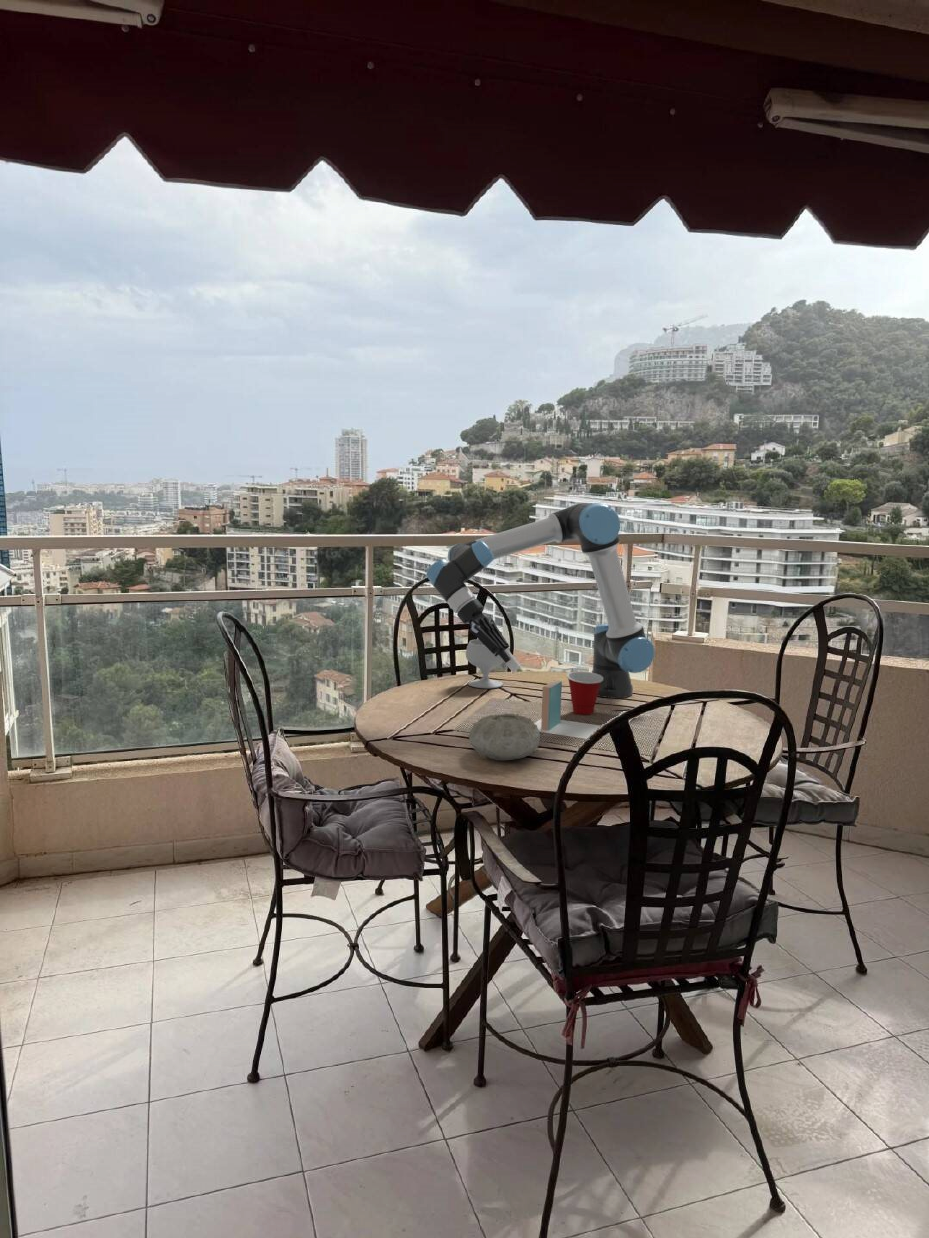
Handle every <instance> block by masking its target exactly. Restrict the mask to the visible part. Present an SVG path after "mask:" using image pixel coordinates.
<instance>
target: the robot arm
mask: <svg viewBox="0 0 929 1238" xmlns="http://www.w3.org/2000/svg"><path fill="white" fill-rule="evenodd" d="M620 531H621V520H620V517H619V515H618V513H617V512H616V510H615V509H614V508H612V507H610V506H608V505H607V504H604V503H598V502H594V503H590V502H589V503H587V502H581V503H577V504H574V505H571V506H568V507H565V508H563V509H560V510H558V511H554V512H552V513H550V514H549V515H548V517H547V518H543V519H540V520H537V521H533V522H531V523H526V524H524V525H520V526H517V527H512V528H511V529H507V530H504V531H500V532H497V533H494V534H491V535H487V536H485V537H481V538H478V539H477V538H476V539H474V540H472V541H467V542H464V543H456V544H454V545H452V546H451V547H450V548H449V550H448V553H447V560H446V559H445V558H440V559H439V560H437V561H434V563H433V564H431V565H430V566H429V567H428V569H427V571H426V577H427V579H428V580H429V582H430V583H431V584H432V586H433V588H434V589H436V591H437V592H438V593H439V594H440V596H441V597H442V599H443V600H444V601H445V602H446V603H447V604H448V606H449V609H451V610H452V611H453V612H454V613H456V614H457V617H458V619H460V621H461V622H462V623H463V624H464V625H467V624H469V626H470V627H471V628H470V629H469V632H470V633H471V634H473V635H474V636H475V637H476V638H477V639H479V640H480V641H481V642H482V643H483V644H484V645H485V646H486V647H487V648H488V649H489V650H490V651H491V652H492V653H493V654H495V653H496V654H495V656H496V657H497V656H498V655H499V656H500V657H501V658H502V660H503V661H504V662H503V663H505V665H506V666H507V667H508V668H509V670H510V671H511V672H512V674H513V673H516V672H517V671H518V670H519V669H520V668H522V665H521V664H520V662H519V661H518V660H517V658H516V657H515V656H514V655H513V654H512V652H511V651H510V650H509V648H510V644H509V643H508V641H507V640H506V638H505V637H504V635H503V634H502V632H501V631H500V630H499V628H498V627H497V624H496V622H495V620H494V619H490V620H489V618H488V617H487V616H486V615H484V613H483V612H484V610H485V607H484V605H482V603H481V601H479V599H477V598H476V596H475V594H474V593H473V591H471V589H470V588H469V587H468V585H466V582H467V581H469V580H470V579H471V578H473V577H474V576H476V574H479V572H481V571H482V570H483V569H485V568H487V567H488V566H489V565H490V564H491V563H492V562H493V561H494V560H497V559H500V558H503V557H507V556H510V555H513V554H516V553H520V552H523V551H527V550H530V549H533V548H536V547H539V546H543V545H546V544H549V543H552V542H556V543H558V544H560V543H563V542H566V541H579V544H580V548H581V551H582V554H583V555H586V556H587V557H588V559H589V562H590V566H591V569H592V573H593V575H594V579H595V583H596V586H597V590H598V592H599V593H598V594H599V597H600V601H601V604H602V608H603V611H604V615H605V618H606V622H607V623H606V624H605V623H604V624H597V625H596V626H595V628H594V633H593V654H592V655H593V657H592V658H593V659H592V671H591V673H596V674H598V675H601V676H602V677H603V681H602V682H601V685H600V687H599V690H598V695H597V697H603V698H609V699H610V698H613V699H614V698H618V699H619V698H627V697H630V696H632V695H633V692H634V690H633V689H634V686H633V684H632V682H631V681H632V680H631V676H630V675H631V674H630V673H632V674H638V673H642V672H644V671H646V670H647V669H648V668H649V667H650V666H651V664H652V663H653V661H654V659H655V654H656V649H655V646H654V644H653V643H652V641H651V640H650V639H649V638H648V637H646V632H645V630H644V626H643V624H642V623H641V622H639V621H637V620H636V615H635V611H634V608H633V606H632V601H631V596H630V593H629V589H628V586H627V583H626V579H625V575H624V572H623V568H622V565H621V560H620V557H619V553H618V550H617V548H618V546H619V545H620V543H621V541H620V538H619V533H620Z"/></svg>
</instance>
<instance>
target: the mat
mask: <svg viewBox="0 0 929 1238" xmlns="http://www.w3.org/2000/svg"><path fill="white" fill-rule="evenodd" d="M541 721H542V717H541V718H539V719H538V720H537V721H535V722H533V723H534V724H535V725H537V728H538V730H539V733H546V734H552V735H553V734H554V735H559V736H566V737H571V738H577V739H578V738H579V739H586V740H588V739H587V738H588V737H589V736H590V735H591V734H593V732H594V731H595V730H596V729H597V728H598V727H600V726H601V724H599V725H598V724H591V723H587V722H586V723H585V722H580V721H570V720H564V719H560V723H559V724H557V725H556V726H555V727H553V728H552V729H550V730H544V729H541Z"/></svg>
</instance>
